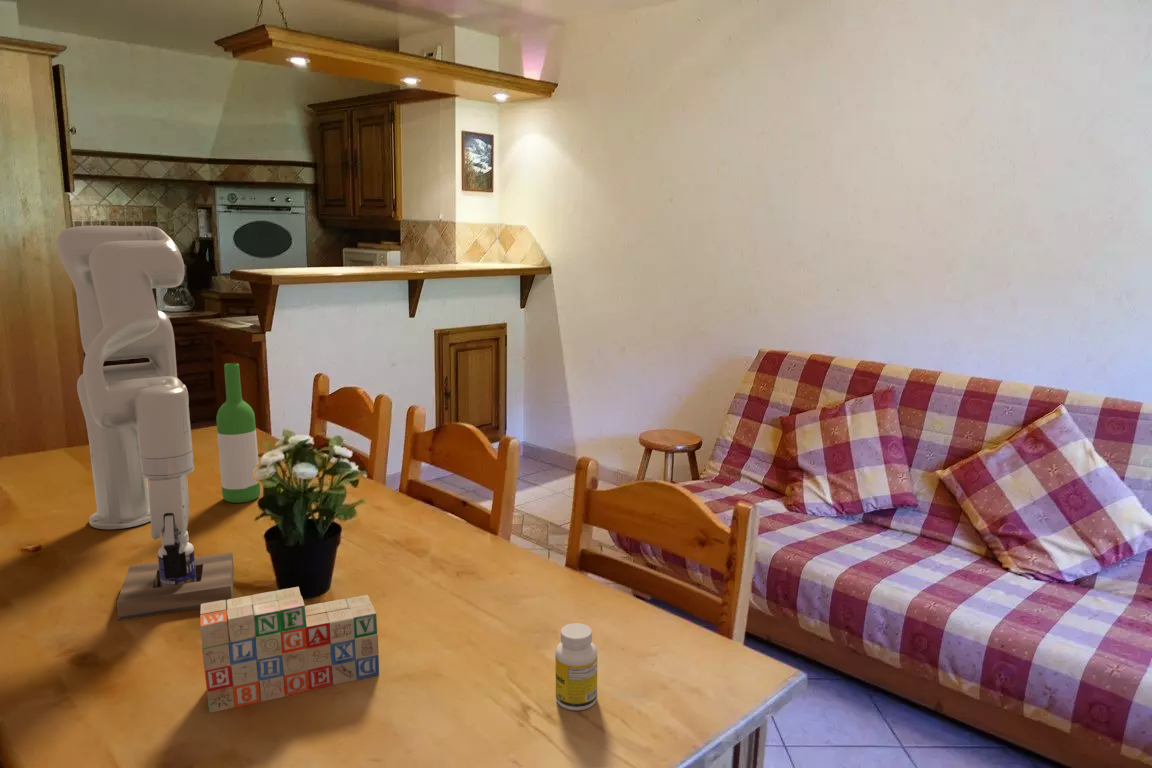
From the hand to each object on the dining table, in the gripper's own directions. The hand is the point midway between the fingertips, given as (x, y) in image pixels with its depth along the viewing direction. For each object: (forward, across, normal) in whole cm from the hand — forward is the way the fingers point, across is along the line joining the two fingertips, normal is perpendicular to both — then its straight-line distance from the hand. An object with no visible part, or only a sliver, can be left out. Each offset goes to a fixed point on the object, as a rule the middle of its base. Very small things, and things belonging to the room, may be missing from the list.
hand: (177, 568), depth 132 cm
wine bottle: (+5, -45, +9) cm, 46 cm away
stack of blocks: (+4, +34, +16) cm, 38 cm away
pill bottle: (+3, 0, 0) cm, 3 cm away
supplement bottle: (+4, +51, +50) cm, 72 cm away
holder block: (+4, 0, 0) cm, 4 cm away
